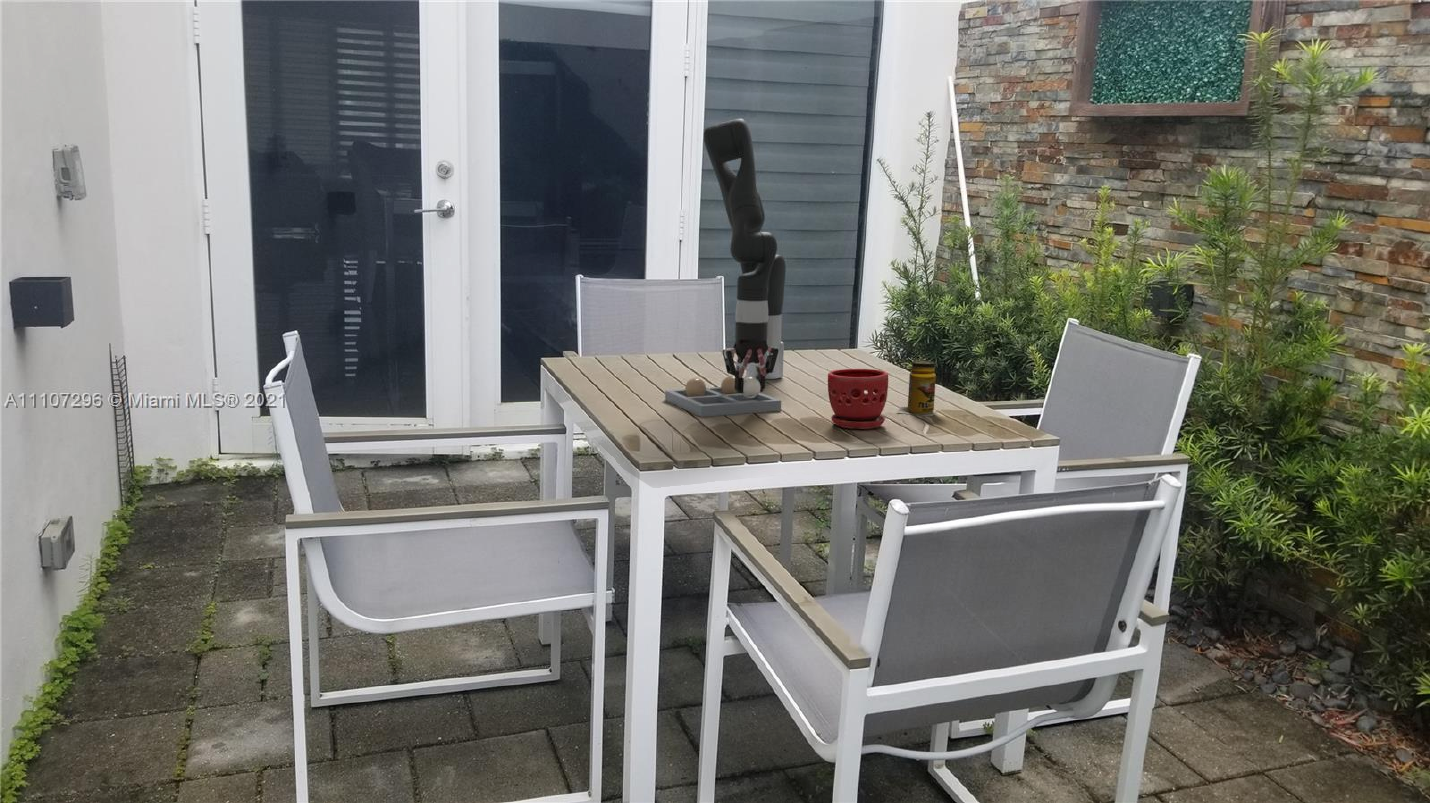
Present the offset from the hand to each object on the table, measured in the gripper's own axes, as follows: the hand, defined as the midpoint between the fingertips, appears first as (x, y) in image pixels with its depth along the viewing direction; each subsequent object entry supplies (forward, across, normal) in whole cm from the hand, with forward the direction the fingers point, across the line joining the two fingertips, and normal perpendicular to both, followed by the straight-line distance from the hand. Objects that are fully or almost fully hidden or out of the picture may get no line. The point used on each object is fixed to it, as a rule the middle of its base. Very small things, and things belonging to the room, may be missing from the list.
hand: (749, 391), depth 261 cm
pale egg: (-1, 0, 0) cm, 1 cm away
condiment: (+4, -35, +17) cm, 39 cm away
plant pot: (+4, -13, +25) cm, 29 cm away
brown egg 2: (0, 0, -10) cm, 10 cm away
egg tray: (+4, +5, -5) cm, 8 cm away
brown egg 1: (0, +10, -10) cm, 13 cm away
